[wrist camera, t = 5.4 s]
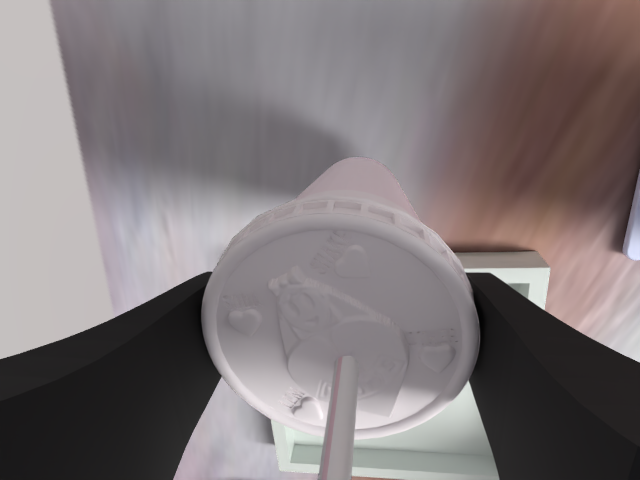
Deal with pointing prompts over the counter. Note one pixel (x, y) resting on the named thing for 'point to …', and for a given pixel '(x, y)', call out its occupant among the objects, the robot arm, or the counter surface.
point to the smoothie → (342, 313)
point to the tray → (441, 430)
